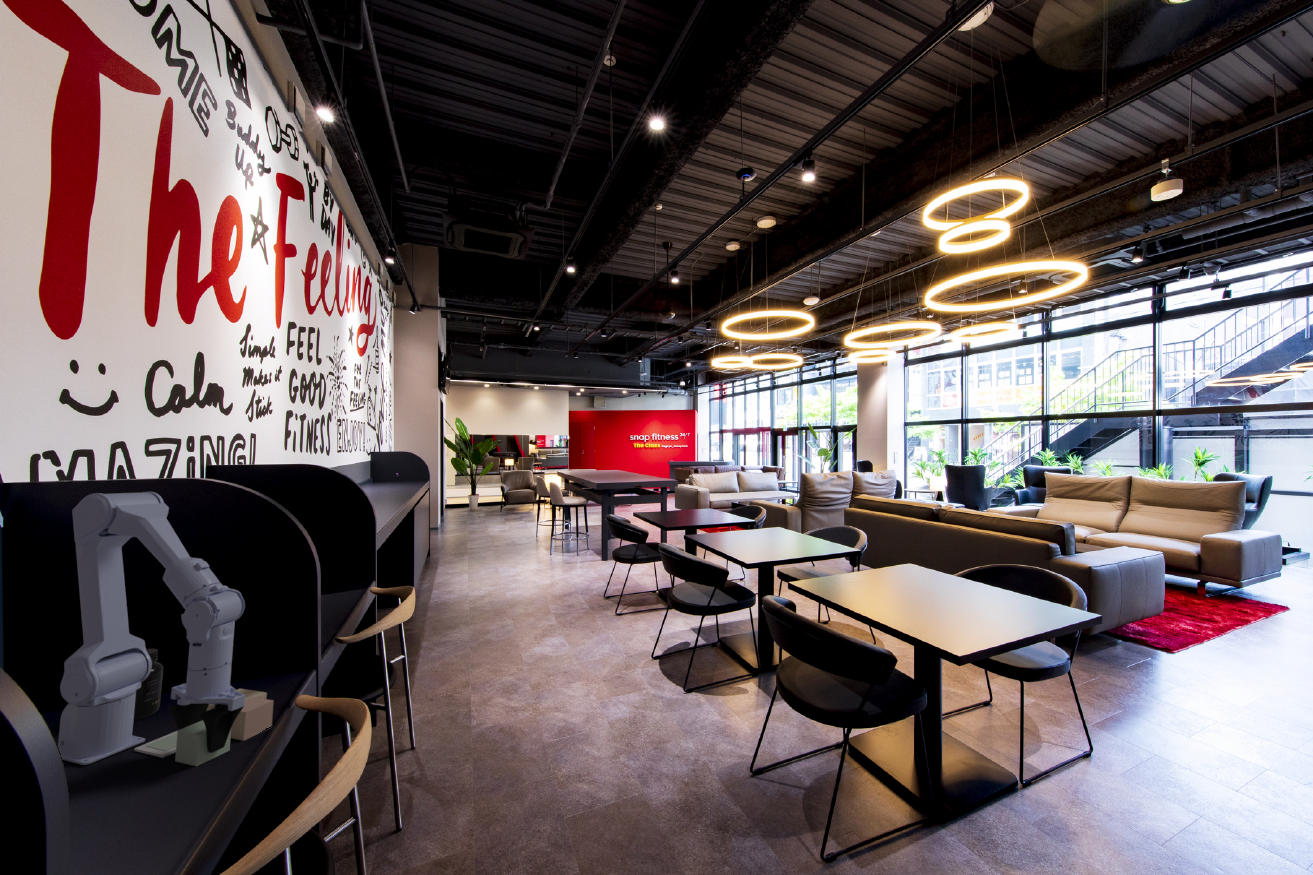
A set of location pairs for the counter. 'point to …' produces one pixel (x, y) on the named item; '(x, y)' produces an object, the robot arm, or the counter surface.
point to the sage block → (196, 745)
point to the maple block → (246, 695)
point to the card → (160, 746)
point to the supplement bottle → (149, 689)
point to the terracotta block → (252, 718)
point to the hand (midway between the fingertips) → (203, 746)
